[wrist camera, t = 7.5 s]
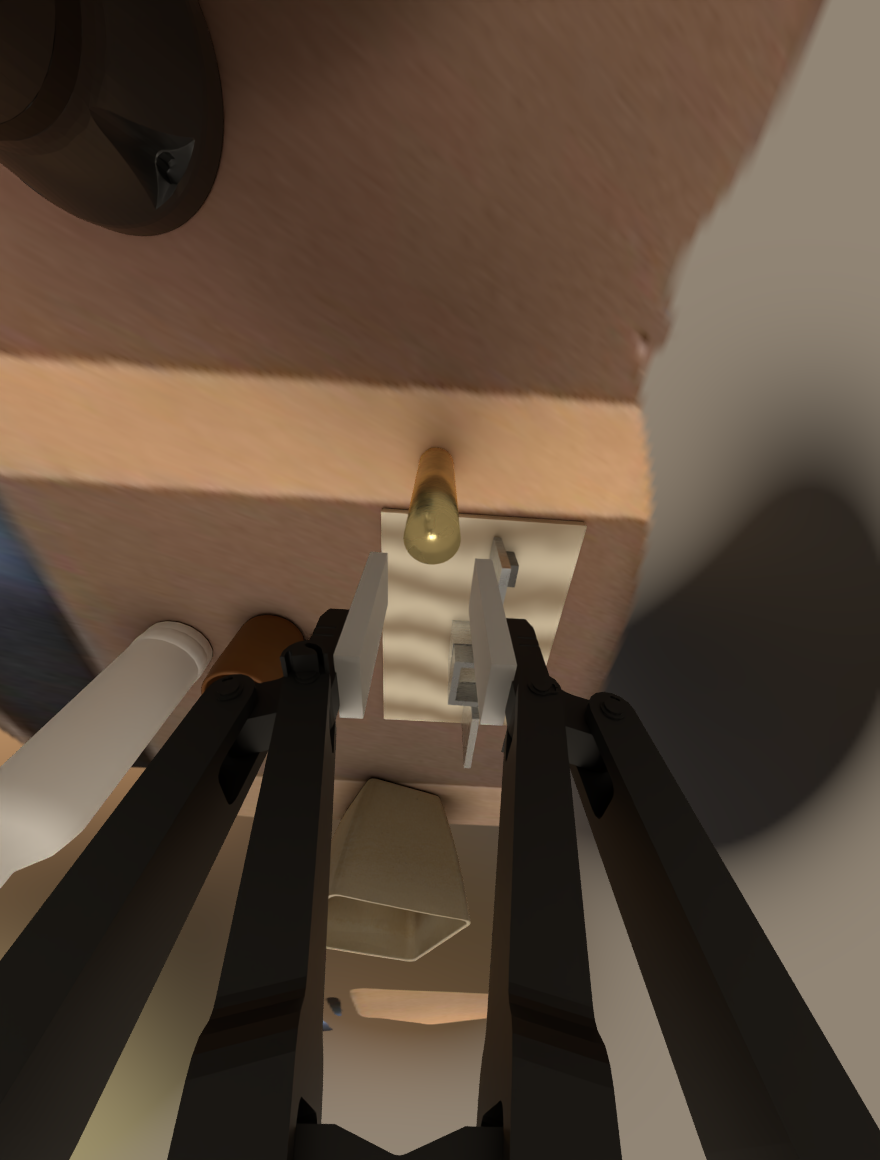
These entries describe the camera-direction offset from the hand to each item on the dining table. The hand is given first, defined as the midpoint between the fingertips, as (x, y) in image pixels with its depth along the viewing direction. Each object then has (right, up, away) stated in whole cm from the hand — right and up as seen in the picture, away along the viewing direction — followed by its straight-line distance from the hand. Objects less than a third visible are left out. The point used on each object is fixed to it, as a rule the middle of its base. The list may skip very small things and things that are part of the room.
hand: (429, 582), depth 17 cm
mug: (-17, -7, +29) cm, 34 cm away
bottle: (-31, -8, +29) cm, 44 cm away
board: (+4, -6, +28) cm, 29 cm away
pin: (0, +11, +18) cm, 21 cm away
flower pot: (-8, -38, +48) cm, 62 cm away
